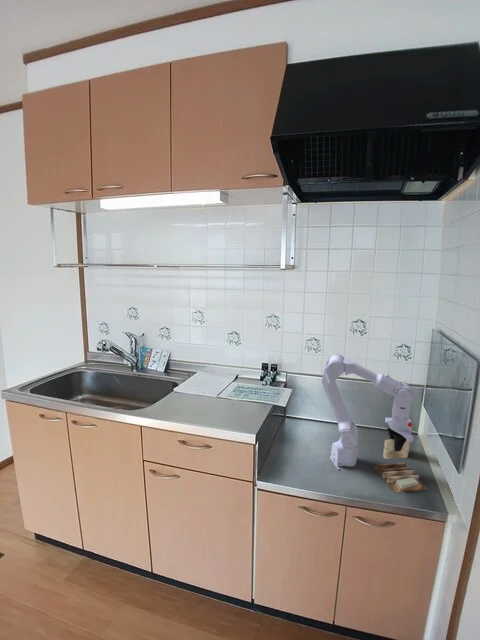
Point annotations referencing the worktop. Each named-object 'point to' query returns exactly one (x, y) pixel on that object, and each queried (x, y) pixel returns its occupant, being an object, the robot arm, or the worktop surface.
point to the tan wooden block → (390, 451)
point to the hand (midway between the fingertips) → (395, 449)
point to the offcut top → (407, 482)
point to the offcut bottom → (409, 487)
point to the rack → (397, 475)
